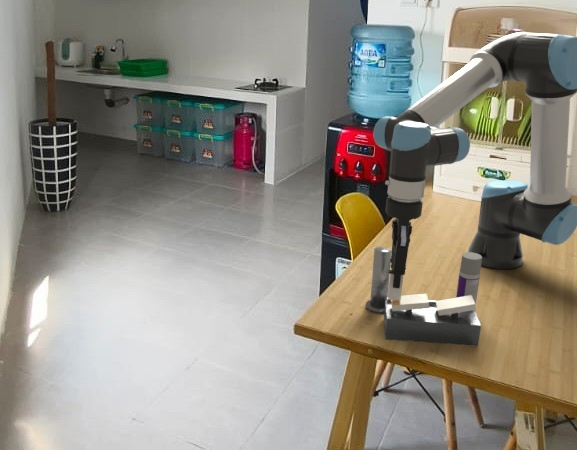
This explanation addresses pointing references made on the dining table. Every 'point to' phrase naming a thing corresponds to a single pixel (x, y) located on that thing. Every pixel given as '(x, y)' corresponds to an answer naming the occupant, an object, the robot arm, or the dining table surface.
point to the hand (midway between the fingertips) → (394, 298)
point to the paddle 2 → (455, 305)
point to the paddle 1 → (410, 302)
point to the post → (379, 280)
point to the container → (469, 275)
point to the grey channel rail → (431, 325)
